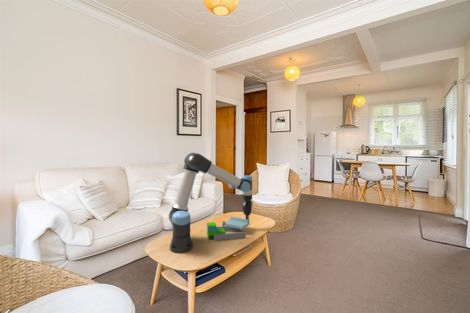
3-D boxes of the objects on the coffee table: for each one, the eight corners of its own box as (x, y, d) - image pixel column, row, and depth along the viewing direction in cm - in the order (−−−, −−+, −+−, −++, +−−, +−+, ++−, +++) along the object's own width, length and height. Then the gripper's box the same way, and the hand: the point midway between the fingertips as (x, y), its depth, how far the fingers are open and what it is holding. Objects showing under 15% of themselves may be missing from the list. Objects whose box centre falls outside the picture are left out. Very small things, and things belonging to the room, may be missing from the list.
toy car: (226, 239, 168) (226, 225, 167) (208, 240, 165) (208, 226, 164) (223, 233, 178) (223, 221, 177) (206, 235, 175) (206, 222, 174)
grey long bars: (214, 240, 165) (214, 234, 165) (211, 232, 181) (211, 227, 181) (245, 237, 170) (245, 232, 170) (240, 229, 186) (240, 224, 186)
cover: (241, 235, 174) (241, 224, 174) (221, 230, 184) (221, 220, 184) (249, 229, 186) (249, 220, 185) (230, 225, 195) (230, 216, 195)
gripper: (247, 196, 179) (247, 225, 180) (255, 193, 189) (255, 221, 190) (239, 195, 183) (239, 224, 184) (247, 192, 193) (247, 219, 195)
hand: (247, 222), depth 187 cm, fingers closed
